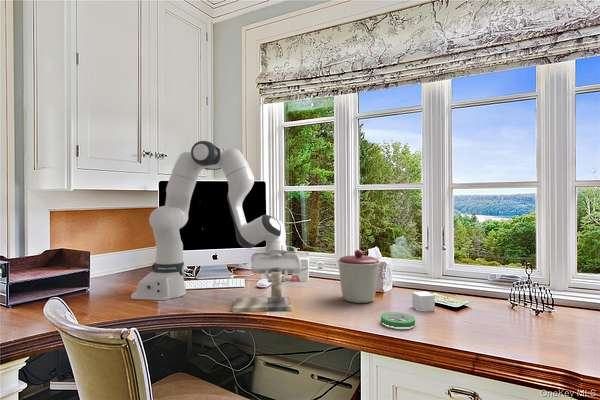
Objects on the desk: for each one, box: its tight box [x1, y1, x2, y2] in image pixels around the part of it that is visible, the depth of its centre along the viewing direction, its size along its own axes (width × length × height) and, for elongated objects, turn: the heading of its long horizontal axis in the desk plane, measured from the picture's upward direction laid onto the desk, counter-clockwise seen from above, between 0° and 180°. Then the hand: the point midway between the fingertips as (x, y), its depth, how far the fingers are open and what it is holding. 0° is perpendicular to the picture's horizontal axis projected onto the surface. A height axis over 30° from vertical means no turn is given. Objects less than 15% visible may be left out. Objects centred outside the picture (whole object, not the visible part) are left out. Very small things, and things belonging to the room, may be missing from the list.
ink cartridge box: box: [291, 251, 310, 282], centre depth 189 cm, size 9×5×15 cm, turn 84°
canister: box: [336, 249, 381, 304], centre depth 152 cm, size 18×18×21 cm
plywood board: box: [232, 296, 293, 313], centre depth 143 cm, size 22×14×2 cm, turn 95°
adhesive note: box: [411, 291, 436, 312], centre depth 140 cm, size 6×6×6 cm
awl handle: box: [270, 267, 283, 300], centre depth 143 cm, size 4×4×12 cm
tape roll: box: [380, 311, 416, 327], centre depth 123 cm, size 11×11×3 cm
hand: (276, 281), depth 143 cm, fingers closed on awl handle, 4 cm apart
